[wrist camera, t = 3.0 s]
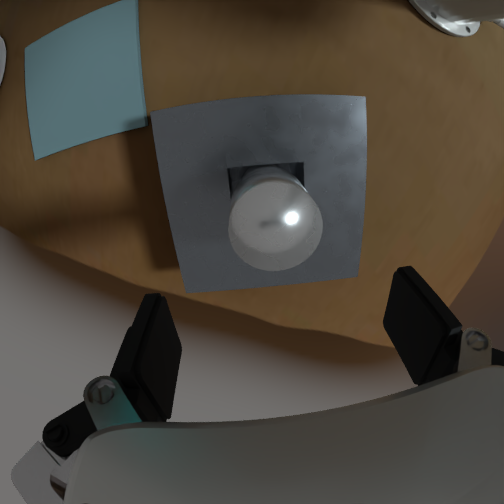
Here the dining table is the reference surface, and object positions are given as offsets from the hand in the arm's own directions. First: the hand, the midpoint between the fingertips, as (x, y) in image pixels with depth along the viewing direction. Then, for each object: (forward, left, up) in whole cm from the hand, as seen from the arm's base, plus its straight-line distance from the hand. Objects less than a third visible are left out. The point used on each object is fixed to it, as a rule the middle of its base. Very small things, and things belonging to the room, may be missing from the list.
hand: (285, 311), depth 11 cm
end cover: (0, 0, -16) cm, 16 cm away
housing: (0, 0, -17) cm, 17 cm away
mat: (+17, -14, -17) cm, 28 cm away
